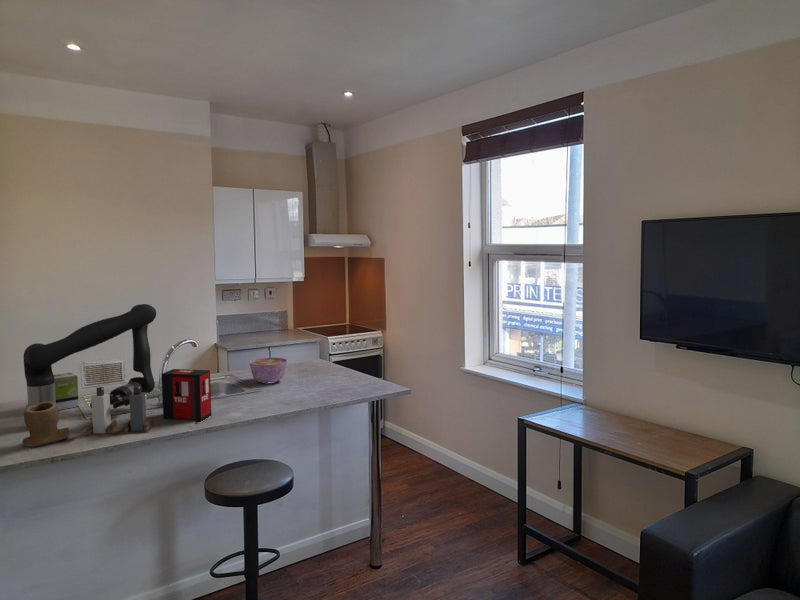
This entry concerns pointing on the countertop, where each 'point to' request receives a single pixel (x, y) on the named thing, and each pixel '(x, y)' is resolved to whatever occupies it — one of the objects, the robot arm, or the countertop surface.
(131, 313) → the robot arm
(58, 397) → the tea box
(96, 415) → the white square bottle
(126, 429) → the comb rack
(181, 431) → the countertop surface
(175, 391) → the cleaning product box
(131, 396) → the grey square bottle
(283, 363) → the bowl of food
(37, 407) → the stone cup
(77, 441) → the countertop surface
